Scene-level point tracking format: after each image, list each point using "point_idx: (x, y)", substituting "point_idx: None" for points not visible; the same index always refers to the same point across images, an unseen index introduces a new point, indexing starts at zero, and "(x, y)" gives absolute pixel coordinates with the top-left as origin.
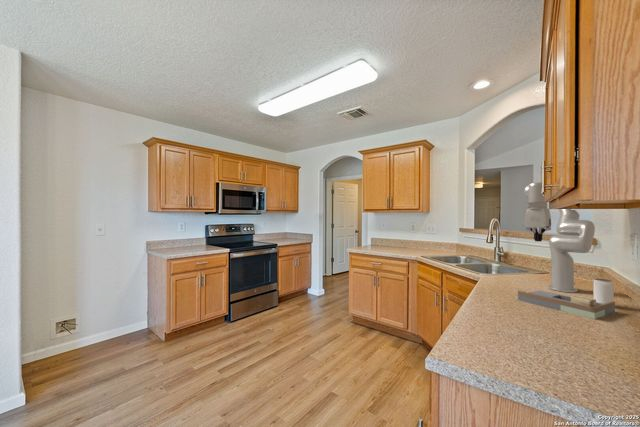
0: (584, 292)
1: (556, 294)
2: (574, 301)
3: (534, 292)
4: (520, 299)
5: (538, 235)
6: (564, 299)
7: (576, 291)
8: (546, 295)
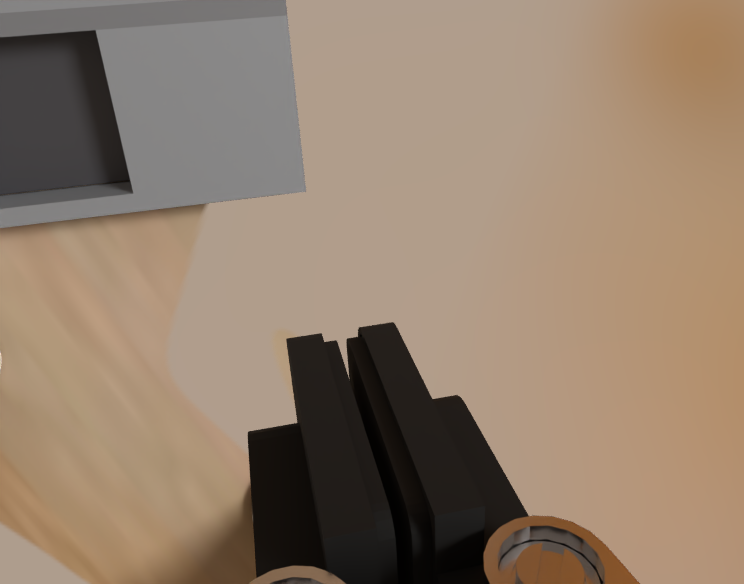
0: (240, 561)
1: (154, 187)
2: None
3: (267, 55)
4: None
5: (315, 493)
6: (99, 189)
7: (252, 517)
8: (150, 47)
